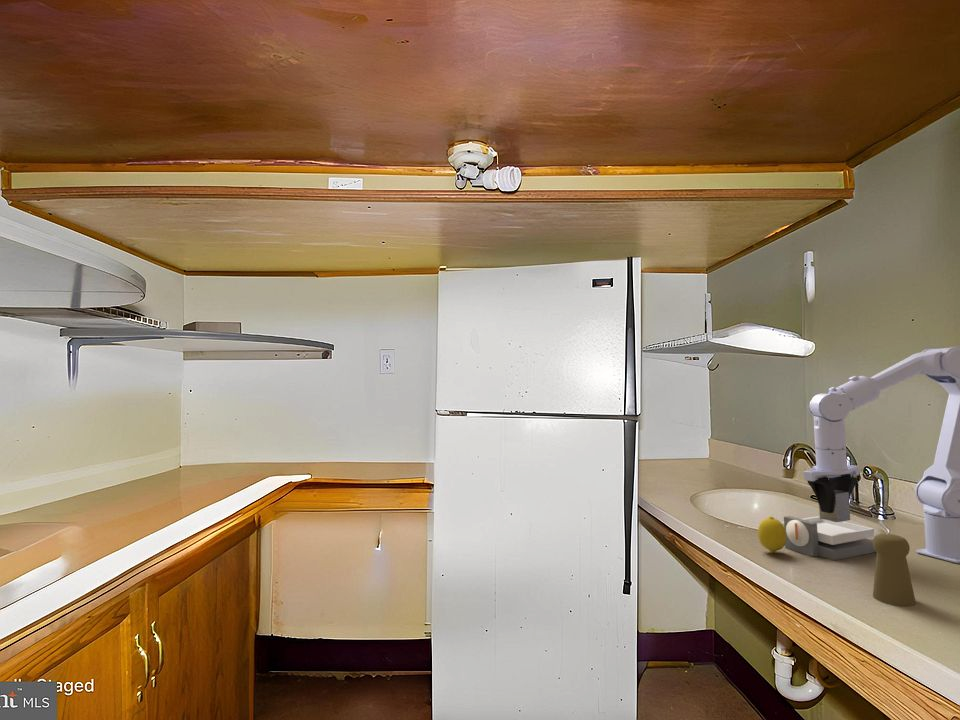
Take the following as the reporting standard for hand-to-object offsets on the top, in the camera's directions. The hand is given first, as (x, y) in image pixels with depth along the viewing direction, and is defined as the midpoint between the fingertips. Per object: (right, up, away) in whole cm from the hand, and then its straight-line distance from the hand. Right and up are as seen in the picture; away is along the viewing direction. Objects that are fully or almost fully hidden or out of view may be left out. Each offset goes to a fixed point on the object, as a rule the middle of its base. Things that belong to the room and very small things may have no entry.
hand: (834, 510), depth 120 cm
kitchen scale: (+1, -10, +5) cm, 11 cm away
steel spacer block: (0, -2, 0) cm, 2 cm away
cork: (-5, -9, -24) cm, 26 cm away
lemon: (-12, -10, +2) cm, 16 cm away
